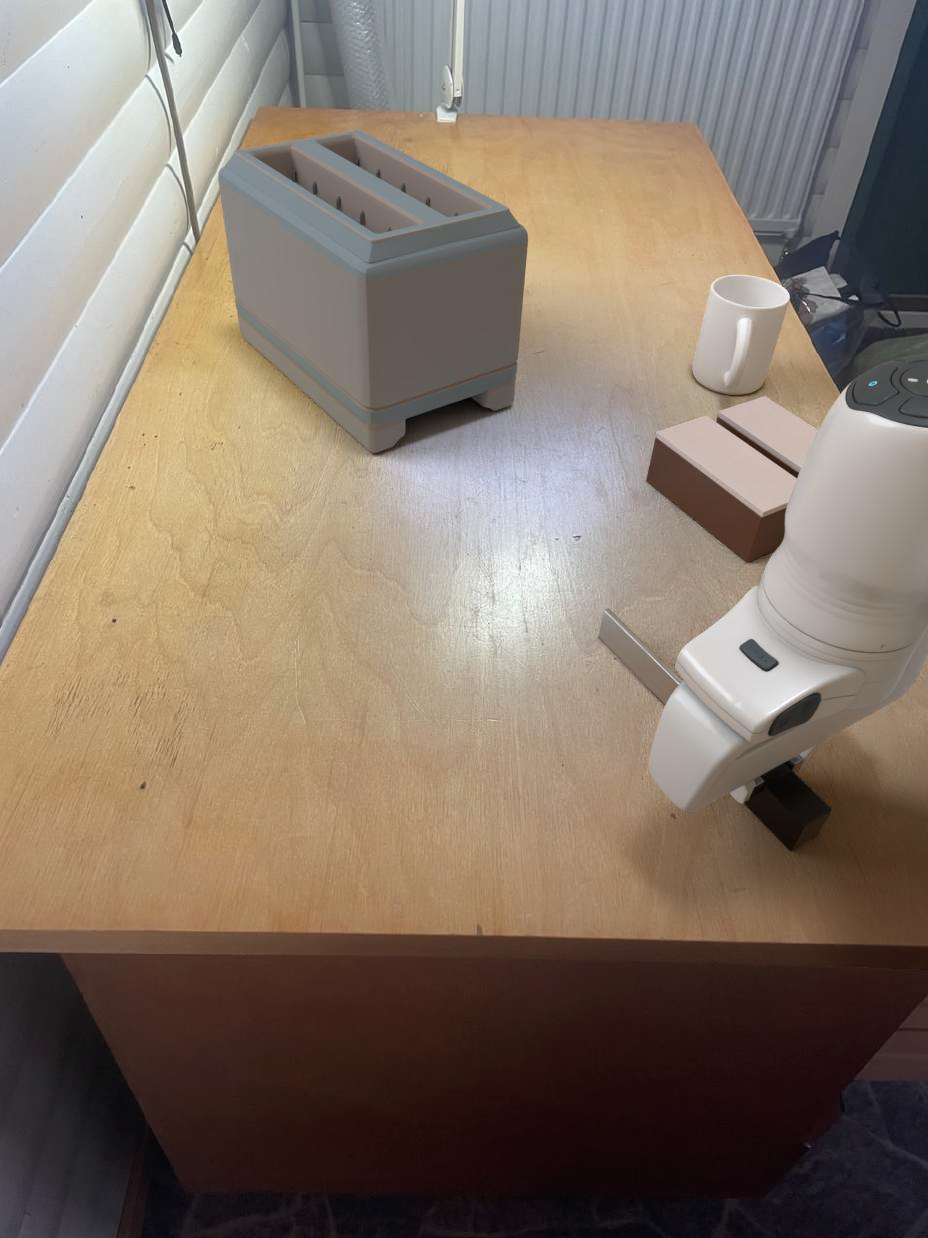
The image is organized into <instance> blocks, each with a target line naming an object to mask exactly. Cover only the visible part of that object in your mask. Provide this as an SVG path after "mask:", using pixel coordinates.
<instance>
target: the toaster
mask: <svg viewBox="0 0 928 1238" xmlns="http://www.w3.org/2000/svg"><path fill="white" fill-rule="evenodd" d="M217 179H218V182H217V183H218V186H219V187H218V189H219V196H220V204H221V209H222V211H221V212H222V219H223V224H224V231H225V238H226V246H227V253H228V260H229V267H230V274H231V280H232V281H231V282H232V287H233V288H232V289H233V295H234V302H235V308H236V311H237V312H236V314H237V319H238V328H239V333H240V336H241V337H242V338H243V339H244V340H245V341H246V342H247V343H248V344H249V345H250V346H251V347H252V348H253V349H255V350H256V351H257V352H258V353H260V355H261V356H263V357H264V359H266V361H268V362H269V363H271V364H272V366H274V367H275V368H276V369H277V370H278V371H279V372H280V373H282V375H284V376H285V377H286V378H287V379H288V380H289V381H290V382H291V383H293V384H294V386H296V387H297V388H298V389H300V390H301V392H303V393H304V394H305V395H306V396H307V397H308V398H309V399H310V400H311V401H313V402H314V403H315V404H316V405H317V406H318V407H319V408H320V409H321V410H323V411H324V412H325V413H326V414H327V415H328V416H329V417H330V418H331V419H333V421H335V422H336V423H337V424H338V425H339V426H341V427H342V428H343V429H344V430H345V431H346V432H347V433H348V434H349V435H350V436H352V437H353V438H354V439H355V440H356V441H357V442H359V444H360V445H362V446H363V447H364V448H365V449H366V450H367V451H368V452H369V453H372V454H377V453H381V452H383V451H386V450H389V449H392V448H394V447H395V445H396V444H397V443H398V442H399V441H400V439H401V438H403V437H404V436H405V435H406V419H409V418H413V417H416V416H418V415H421V414H424V413H427V412H430V411H433V410H436V409H439V408H442V407H445V406H448V405H451V404H453V403H457V402H459V401H462V400H465V399H469V398H471V399H472V400H473V401H475V402H476V403H477V404H478V405H480V406H482V407H483V408H488V409H490V410H492V411H493V412H496V411H500V410H501V409H504V408H507V407H510V406H512V405H513V403H514V400H515V392H516V391H515V390H516V380H517V371H518V359H519V351H520V350H519V348H520V339H521V327H522V326H521V325H522V316H523V315H522V313H523V303H524V294H525V293H524V292H525V283H526V269H527V260H528V259H527V258H528V247H529V246H528V245H529V234H528V231H527V229H526V227H525V226H524V225H523V224H521V223H519V221H518V220H517V219H516V217H515V216H514V215H513V214H512V212H511V210H510V208H509V207H508V206H507V205H505V204H502V203H501V202H499V201H496V200H495V199H494V198H491V197H489V196H487V195H485V194H483V193H481V192H480V191H478V190H476V189H474V188H473V187H471V186H468V185H466V184H464V183H462V182H461V181H459V180H457V179H455V178H453V177H451V176H449V175H447V174H446V173H443V172H441V171H440V170H437V169H436V168H435V167H432V166H430V165H428V164H426V163H424V162H422V161H421V160H418V159H416V158H415V157H412V156H411V155H409V154H407V153H405V152H403V151H402V150H399V149H398V148H396V147H394V146H392V145H390V144H388V143H386V142H385V141H382V140H381V139H379V138H378V137H375V136H373V135H371V134H369V133H367V132H365V131H364V130H361V129H356V130H349V131H343V132H337V133H331V134H326V135H321V136H320V135H319V136H314V137H309V138H303V139H296V140H289V141H284V142H277V143H271V144H265V145H260V146H253V147H248V148H247V147H246V148H241V149H235V150H234V151H233V154H232V155H231V157H230V158H229V159H228V160H227V162H226V163H225V164H224V166H223V167H221V168H220V169H219V171H218V178H217Z"/></svg>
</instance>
